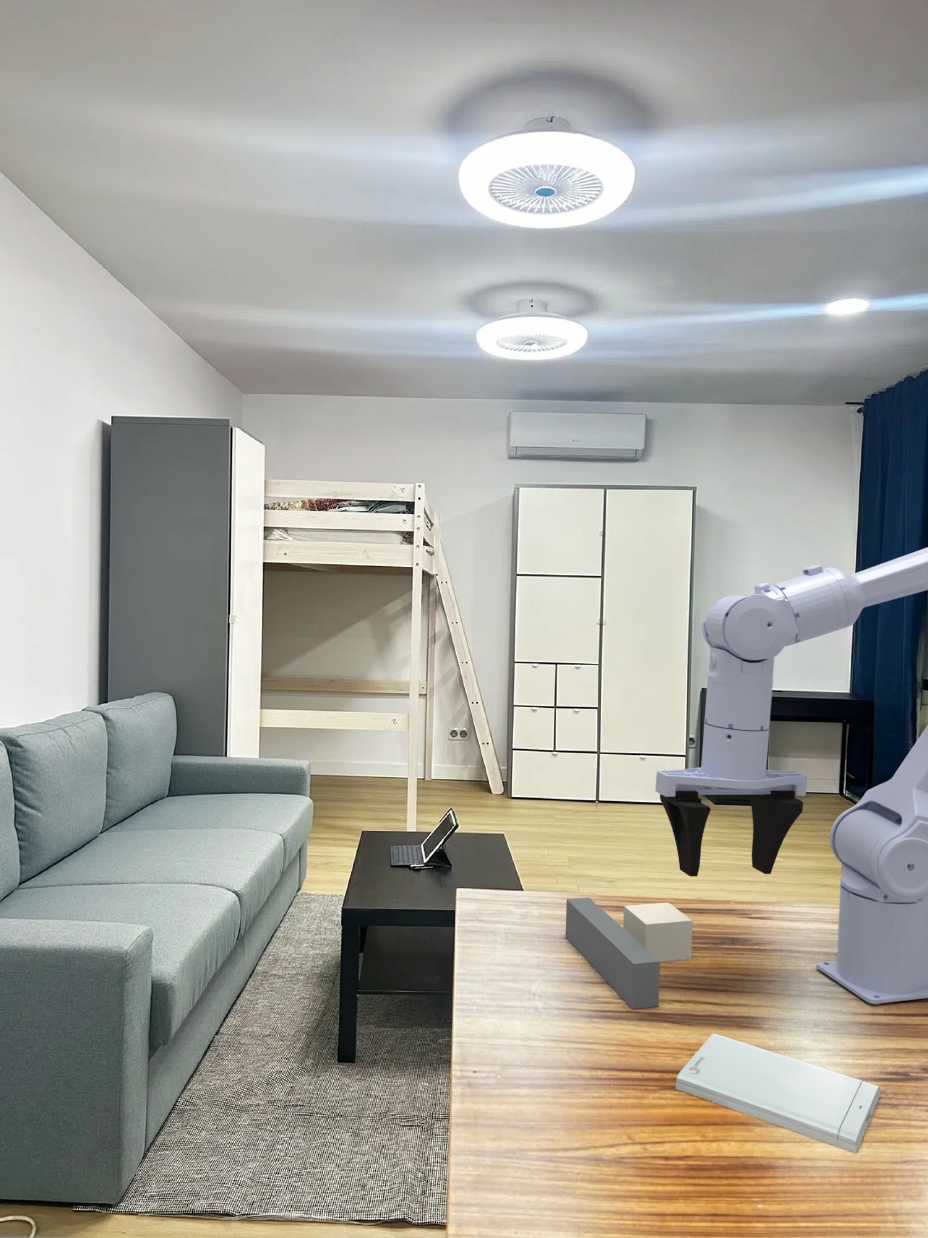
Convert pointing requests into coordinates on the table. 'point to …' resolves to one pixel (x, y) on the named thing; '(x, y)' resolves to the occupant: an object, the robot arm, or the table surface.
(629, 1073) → the table surface
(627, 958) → the gray bar
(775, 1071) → the hard drive
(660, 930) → the cream block
